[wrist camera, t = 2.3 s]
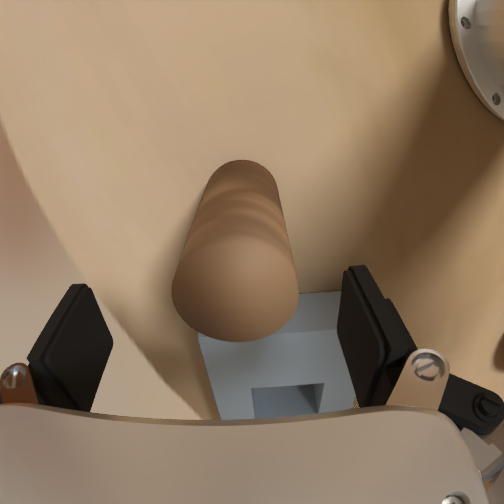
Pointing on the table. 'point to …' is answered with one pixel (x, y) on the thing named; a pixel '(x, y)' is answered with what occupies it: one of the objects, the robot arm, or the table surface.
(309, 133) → the table surface
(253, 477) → the robot arm
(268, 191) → the walnut peg
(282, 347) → the hole board
